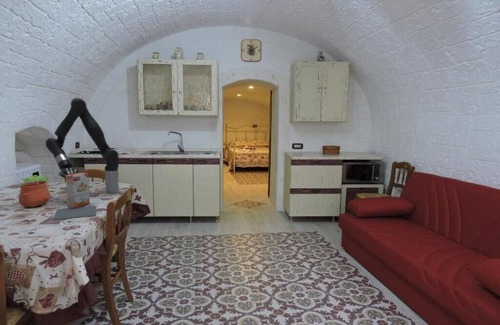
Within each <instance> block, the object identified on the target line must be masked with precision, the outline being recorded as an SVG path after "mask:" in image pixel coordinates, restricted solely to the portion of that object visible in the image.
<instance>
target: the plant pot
mask: <svg viewBox="0 0 500 325" xmlns="http://www.w3.org/2000/svg"><path fill="white" fill-rule="evenodd" d="M73 168H74V169H75V170H77V169H78V170H79V171H78V173H86V168H85V167H73ZM78 173H77V174H78ZM73 174H75V173H74V172H73Z"/></svg>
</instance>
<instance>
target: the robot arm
mask: <svg viewBox="0 0 500 325" xmlns="http://www.w3.org/2000/svg"><path fill="white" fill-rule="evenodd" d="M70 101H71V102H70V106H71V107H70V109H69V111H68V113H67V115H66V116H65V117H64V119H63V120H62V121H61V122H60V123H59V125H58V126H57V128H56V130H55V131H54V135H55V136H56V137H57V138H53V137H49V138H46V141H45V147H46V148H47V150H48V151H49V152H50V153H51V154H52V155H53V157H54V159H55V163H56V165H57V166H58V168H59V170H60V171H59V172H58V176H60V177H61V178H63V179H65V180H66V175H72V174H73V172H74V173H75V174H77V173H78V171H79V170H78V169H77V170H75V169H74V168H75V167H73V164H72V162H71V160H70V159H69V157H68V155H67V153H66V151H65V150H64V149H63V146H64V143H65V140H66V136H68V133H69V132H70V130H71V129H72V128H73V125H74V124H75V123H76V120H78V118H79V119H80V120H81V122H82V125H83V126H84V129H85V131H86V132H87V133H88V136H89V137H90V138H91V140H92V141H93V143H94V144H95V146H96V147H97V149H98V151H99V153H100V155H101V157H102V158H103V160H105V161H106V165H105V166H104V182H105V194H111V195H112V194H118V193H119V192H120V186H119V182H120V181H119V171H118V170H119V166H120V164H119V163H120V160H119V159H120V158H119V157H120V156H119V152H118V151H117V150H115V149H113V148H111V147H110V146H109V144H108V143H107V141H106V137H105V134H104V131H103V129H102V128H101V126H100V124H99V123H98V122H97V121H96V119H95V118H94V117H93V116H92V114H91V113H90V111H89V109H88V107H87V103H86V101H85V100H84V99H82V98H80V97H74V98H72V99H71V100H70Z"/></svg>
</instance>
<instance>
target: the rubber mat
mask: <svg viewBox="0 0 500 325" xmlns="http://www.w3.org/2000/svg"><path fill="white" fill-rule="evenodd" d="M96 216H97V205H87V206H86V205H84V206H80V207H77V208H68V207H66V208H58V209H56V211H55V212H54V216H53V218H52V221H61V220H71V219H80V218H81V219H82V218H88V217H96Z"/></svg>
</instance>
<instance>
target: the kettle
mask: <svg viewBox="0 0 500 325" xmlns="http://www.w3.org/2000/svg"><path fill="white" fill-rule="evenodd" d="M49 179H50V178H49V177H46V176H43V175H37V174H33V176H32V175H29V176H27V177H24V178H21V180H23V182H24V184H25V183H27V182H33V181H46V182H47V181H48V180H49Z"/></svg>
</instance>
